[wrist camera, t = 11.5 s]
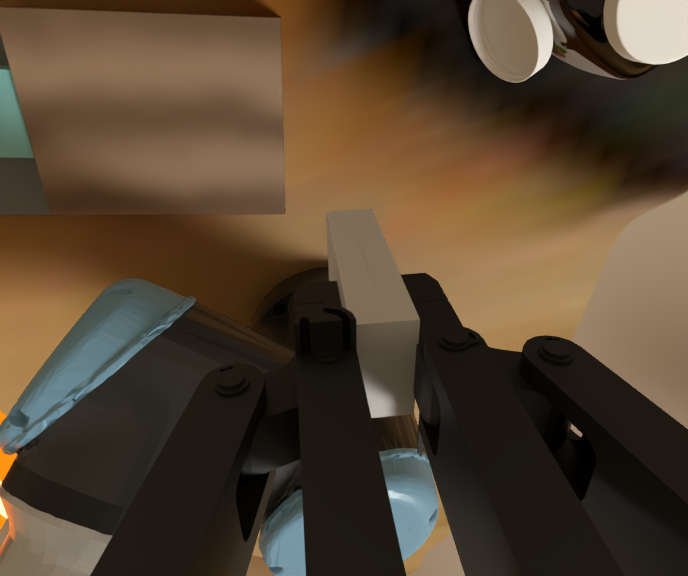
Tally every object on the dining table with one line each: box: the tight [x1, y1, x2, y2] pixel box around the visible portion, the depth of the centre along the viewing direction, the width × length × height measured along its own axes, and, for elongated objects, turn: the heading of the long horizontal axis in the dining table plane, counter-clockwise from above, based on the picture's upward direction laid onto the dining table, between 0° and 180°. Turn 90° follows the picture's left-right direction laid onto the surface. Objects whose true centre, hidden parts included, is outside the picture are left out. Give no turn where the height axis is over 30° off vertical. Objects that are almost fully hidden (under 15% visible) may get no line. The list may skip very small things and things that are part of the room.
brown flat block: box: [0, 7, 285, 215], centre depth 37 cm, size 14×18×3 cm
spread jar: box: [468, 0, 688, 83], centre depth 33 cm, size 12×11×12 cm
